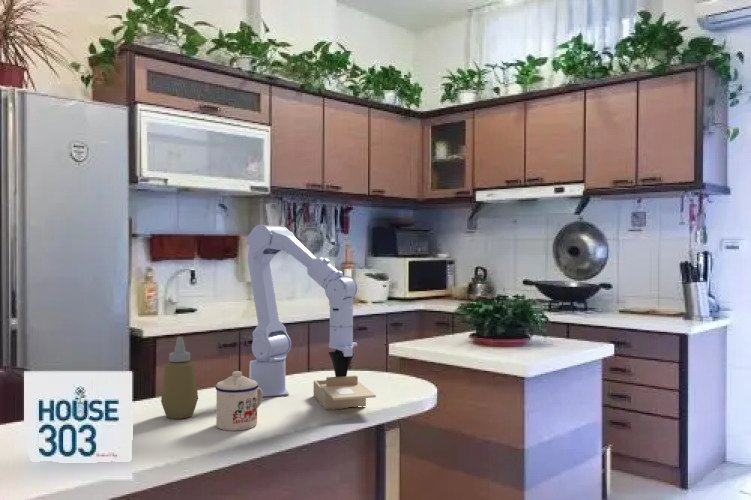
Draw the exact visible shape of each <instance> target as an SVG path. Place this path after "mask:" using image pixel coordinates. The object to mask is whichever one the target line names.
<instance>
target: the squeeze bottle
mask: <svg viewBox="0 0 751 500" xmlns="http://www.w3.org/2000/svg"><path fill="white" fill-rule="evenodd" d="M185 345H186V344H185V341H184V337H183V336H177V338H176V342H175V346H174V351H173V352H170V353H169V354H168V361H169V362H167V363H166V364H165V365H164V370H163V371H164V372H163V378H162V391H161V398H160V399H161V400H160V402H161V405H162V408H163V412H164V415H165V417H166V418H168V419H176V420H177V419H178V420H179V419H181V420H182V419H187V418H190V417H192V416H194V413H195V411H196V406H197V405H198V400H199V395H198V384H197V374H196V364H195V363H194V362H193V361H190V360H191V354H192V353H191V352H190V351H186V346H185Z"/></svg>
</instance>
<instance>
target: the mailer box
mask: <svg viewBox="0 0 751 500" xmlns="http://www.w3.org/2000/svg"><path fill="white" fill-rule="evenodd" d="M320 384H326V379H321V380H313V398H315V400H316V401H317V402H318V403H319V404H320V405H321V407H322V408H323V409H324V410H325V411H331V410H343V409H342V408H347V409H349V408H348V407H358V406H366V407H367V398H359V399H345V400H333V399H332V398H331V397H330V396H329V395H328V394H327V393H326V392H325V391H324V390H323V389H322V388H321V387H320Z"/></svg>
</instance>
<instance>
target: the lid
mask: <svg viewBox="0 0 751 500" xmlns="http://www.w3.org/2000/svg"><path fill="white" fill-rule="evenodd" d="M325 380H326V384H320V387H321V388H322V389H323V390H324V391H325V392H326V393H327V394H328V395H329V396H330V397H331V398H332V399H333V400H345V399H359V398H366V399H370V398H373V399H374V398H377V395H376V394H375V393H374V392H372V390H370V389H369V388H368V387H366V386H365V385H364V384H362V383H361V382H360V381H359V380H358V376H357V375H347V376H340V377H336V376H327V377H326V379H325Z"/></svg>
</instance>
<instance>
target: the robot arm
mask: <svg viewBox="0 0 751 500" xmlns="http://www.w3.org/2000/svg"><path fill="white" fill-rule="evenodd" d="M247 239H248V245H249V248H248V253H247V254H248V255H247V263H248V269H249V270H248V271H249V275H250V283H251V288H252V295H253V300H254V301H253V302H254V307H255V313H256V318H257V320H256V321H257V325H256V327H255V329H254V330H252V331H253V332H252V343H251V351H252V354H253V356H254V357H255V359H254V360H249V367H248V368H249V369H248V370H249V371H248V378H249V379H251V380H255V381H256V382H257V383H258V387H259V388H260V389H261V390H262V392H263V397H278V396H280V397H281V396H289V395H290V393H289V391H288V390H287V389H286V358H287V355H288V353H289V352H290V351H291V349H292V340H291V338H290V336H289V335H288V332H287V327H286V326H285V325H284V324H283V323H282V322H281V321H280V319H279V314H278V307H277V306H278V305H277V301H276V295H275V289H274V284H273V282H274V281H273V276H272V270H271V269H272V268H271V264H270V263H271V261H272V260H273V259H274V257H275V256H277V255H278V254H279V253H280V252H282V251H285V252H286V253H288V254H289V255H290V256H292V257H293V258H294V259H296V261H298V262H299V263H301V264H302V265H303V266H304V267H305V268H306V271H307V273H306V274H307V275H308V276H309V277H310V278H311V279H312V280H313V281H314V282H315V283H317V284H318V285H319V286H320V287H321V288H322V289H324V292H325V296H326V298H327V300H328V305H329V343H328V347H329V348H330V349H334V351H329V352H328V355H329V357H330V359H331V363H332V366H333V369H334V375H335V376H334V377H340V376H348V370H349V366H350V364H351V361H352V359H353V358H354V352H353V351H354V350H353V349H354V347H358V343H357V342H355V341H354V342H353V340H354V332H353V331H354V328H353V327H354V298H355V296H356V295H357V292H358V284H357V282H356V280H355V279H354V278H353V277H352V276H350V275H344V274H343V271H341V270H338V269H337V268H336V267H334V265H332V264H331V260H330V259H329V258H325V257H321V256H320V257H316V256H315V255H314V254H313V253H312V252H311V251H310V250H309V249H308V248H307V247H306V246H304V244H303V243H301V241H300V240H299V239H298V238H296V236H295V235H294V232H293V231H291V230H289V229H288V228H287V227H286V226H284V225H265V224H258V225H255V226H254V227H253V229H252V230H251V231H250V233H249V234H248V235H247ZM257 398H258V392H257Z"/></svg>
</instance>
